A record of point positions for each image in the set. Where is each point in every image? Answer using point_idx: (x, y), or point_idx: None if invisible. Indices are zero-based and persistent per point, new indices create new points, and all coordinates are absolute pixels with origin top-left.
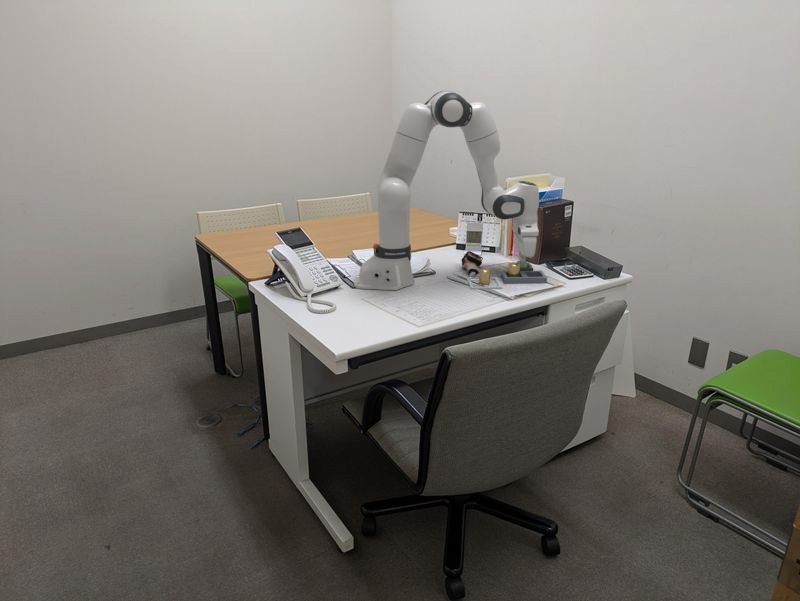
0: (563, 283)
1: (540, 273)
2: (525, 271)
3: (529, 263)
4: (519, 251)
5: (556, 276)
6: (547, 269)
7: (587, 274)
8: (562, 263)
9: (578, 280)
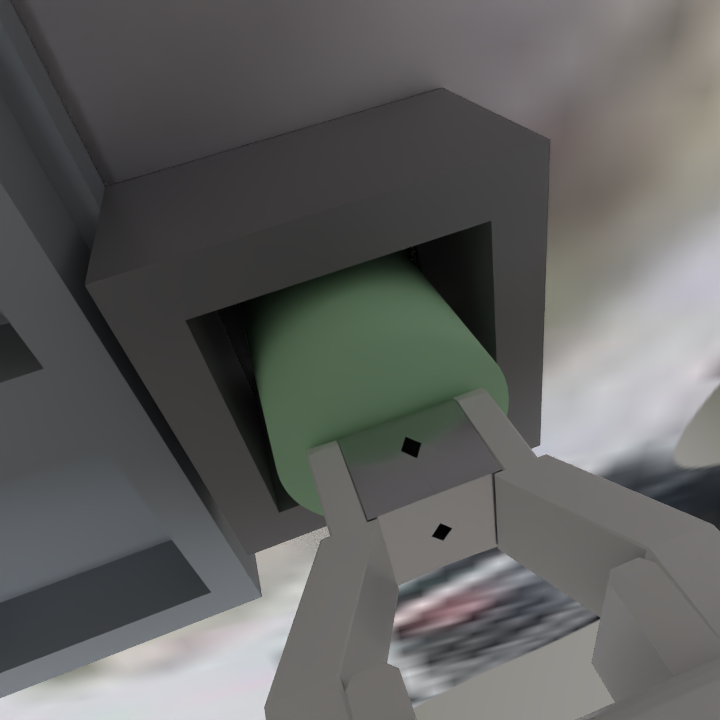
0: (162, 660)
1: (152, 604)
2: (126, 456)
3: None
4: (628, 582)
5: None
6: None
7: (433, 680)
8: None
9: None
